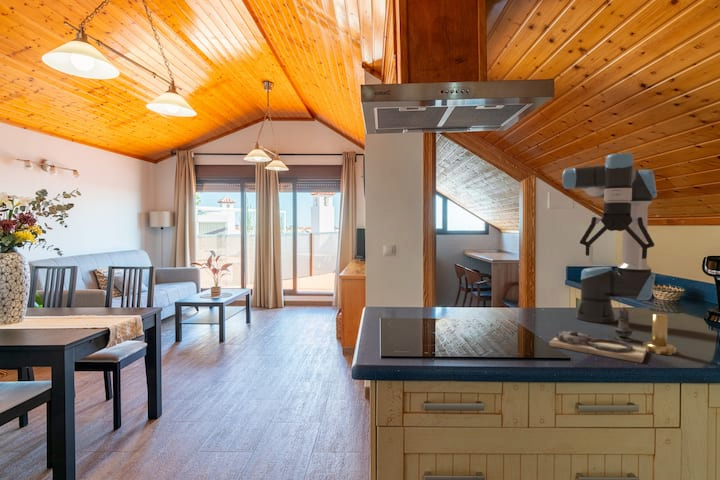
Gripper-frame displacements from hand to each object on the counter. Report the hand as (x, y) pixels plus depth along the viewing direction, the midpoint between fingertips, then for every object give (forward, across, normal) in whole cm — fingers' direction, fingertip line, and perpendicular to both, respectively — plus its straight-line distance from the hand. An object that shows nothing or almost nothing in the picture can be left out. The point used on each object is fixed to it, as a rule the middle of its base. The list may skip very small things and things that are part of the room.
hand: (614, 267), depth 128 cm
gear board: (+28, -4, -1) cm, 28 cm away
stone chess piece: (+28, +2, +19) cm, 34 cm away
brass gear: (+28, +13, +10) cm, 32 cm away
